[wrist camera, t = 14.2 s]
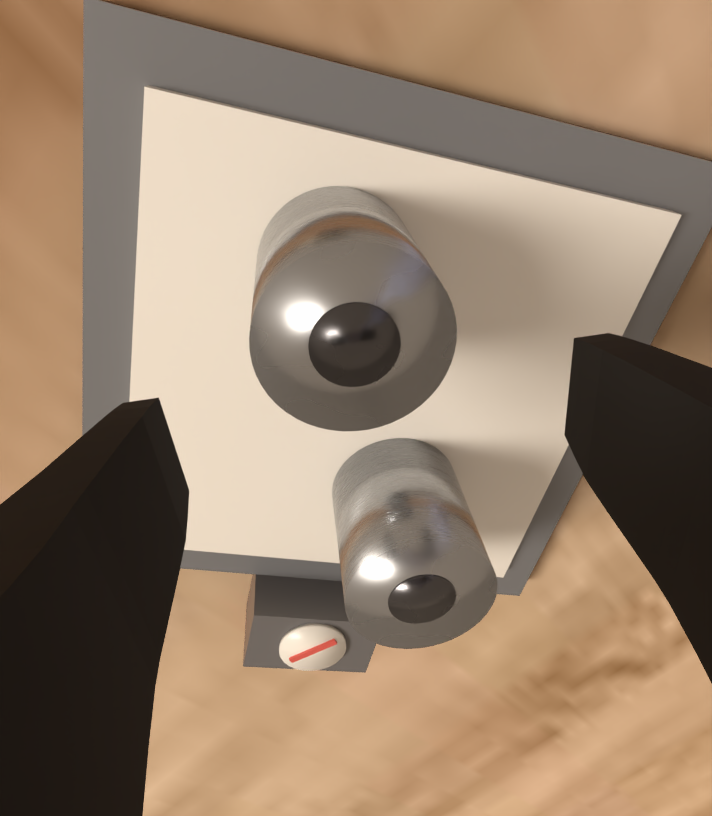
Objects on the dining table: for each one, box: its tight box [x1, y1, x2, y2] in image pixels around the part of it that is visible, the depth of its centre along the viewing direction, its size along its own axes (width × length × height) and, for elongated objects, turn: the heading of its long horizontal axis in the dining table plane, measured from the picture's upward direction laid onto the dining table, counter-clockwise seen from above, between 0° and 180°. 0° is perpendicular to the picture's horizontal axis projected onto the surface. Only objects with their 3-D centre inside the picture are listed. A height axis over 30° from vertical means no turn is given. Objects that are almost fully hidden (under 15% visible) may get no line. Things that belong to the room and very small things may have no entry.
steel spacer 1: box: [249, 186, 457, 431], centre depth 15 cm, size 4×4×5 cm
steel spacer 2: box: [332, 438, 497, 649], centre depth 20 cm, size 4×4×5 cm
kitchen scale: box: [83, 0, 712, 672], centre depth 20 cm, size 18×21×3 cm
